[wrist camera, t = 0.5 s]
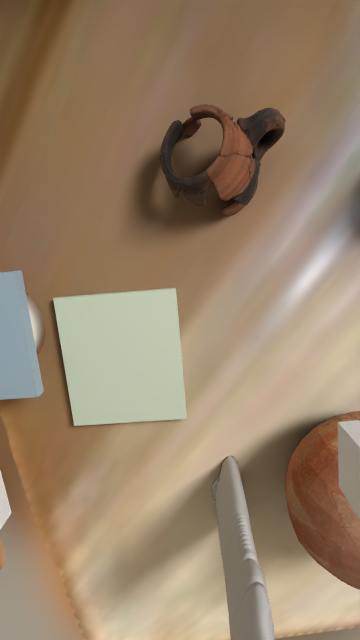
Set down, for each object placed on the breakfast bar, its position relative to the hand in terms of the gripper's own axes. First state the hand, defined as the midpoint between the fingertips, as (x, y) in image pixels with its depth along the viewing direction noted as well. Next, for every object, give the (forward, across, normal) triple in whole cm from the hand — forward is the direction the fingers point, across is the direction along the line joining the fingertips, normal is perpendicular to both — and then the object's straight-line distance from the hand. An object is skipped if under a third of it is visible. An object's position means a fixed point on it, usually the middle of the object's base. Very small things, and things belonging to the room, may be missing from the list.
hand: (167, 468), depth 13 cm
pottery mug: (+27, +6, +16) cm, 32 cm away
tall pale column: (+27, +4, -23) cm, 36 cm away
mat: (+27, -7, -4) cm, 28 cm away
